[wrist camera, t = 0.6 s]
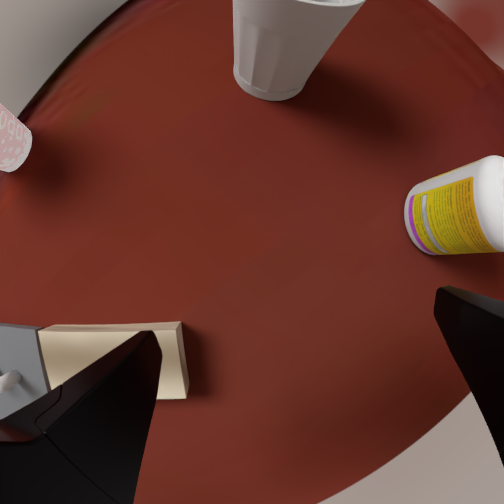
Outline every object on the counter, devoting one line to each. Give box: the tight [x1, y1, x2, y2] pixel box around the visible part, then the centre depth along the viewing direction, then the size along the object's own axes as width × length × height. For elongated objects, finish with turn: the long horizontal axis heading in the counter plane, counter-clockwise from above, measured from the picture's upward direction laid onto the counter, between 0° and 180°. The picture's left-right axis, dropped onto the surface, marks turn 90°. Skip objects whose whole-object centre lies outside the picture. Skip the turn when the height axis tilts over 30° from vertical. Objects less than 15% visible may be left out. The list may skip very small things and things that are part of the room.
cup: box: [233, 0, 366, 101], centre depth 16 cm, size 8×8×12 cm
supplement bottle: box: [404, 156, 504, 255], centre depth 17 cm, size 7×7×13 cm
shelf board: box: [38, 322, 189, 399], centre depth 19 cm, size 5×11×3 cm, turn 95°
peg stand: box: [0, 323, 52, 420], centre depth 17 cm, size 16×10×4 cm, turn 2°
